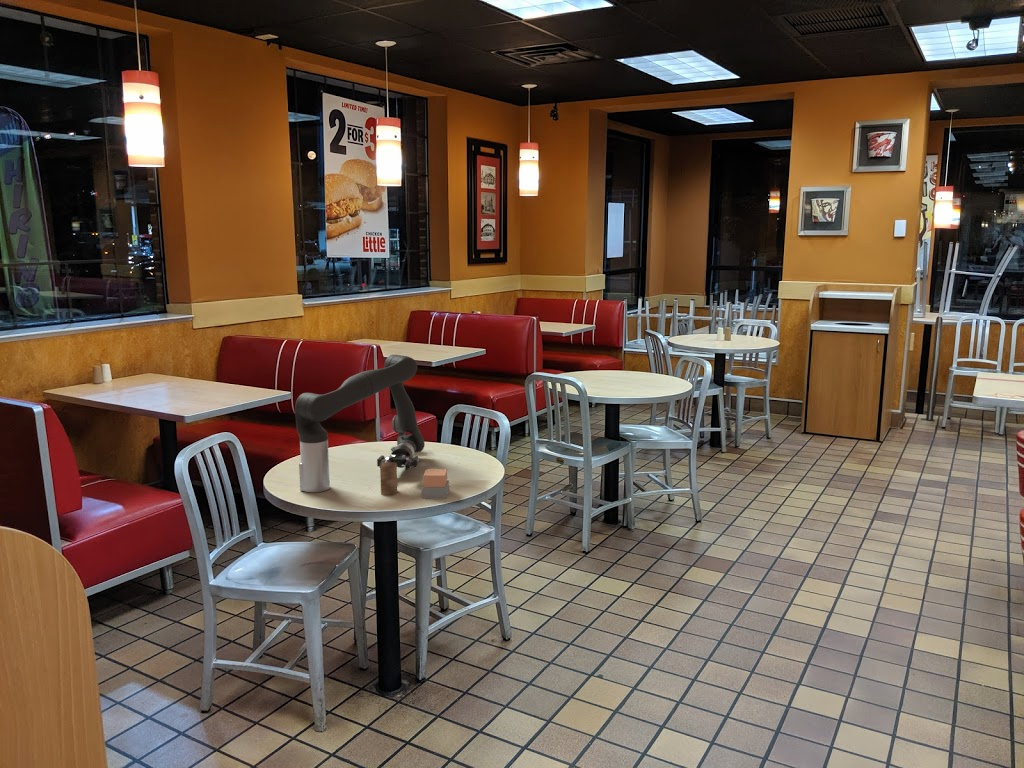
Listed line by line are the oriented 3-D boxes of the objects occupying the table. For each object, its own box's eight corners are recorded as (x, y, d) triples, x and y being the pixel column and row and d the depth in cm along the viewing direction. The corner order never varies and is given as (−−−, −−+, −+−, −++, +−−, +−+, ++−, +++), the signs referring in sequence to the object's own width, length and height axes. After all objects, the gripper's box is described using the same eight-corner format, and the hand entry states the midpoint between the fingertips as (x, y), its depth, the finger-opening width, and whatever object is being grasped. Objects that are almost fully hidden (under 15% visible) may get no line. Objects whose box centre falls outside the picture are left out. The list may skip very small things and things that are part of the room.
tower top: (423, 487, 255) (423, 475, 254) (426, 480, 262) (426, 469, 261) (444, 487, 255) (444, 475, 254) (447, 480, 262) (446, 469, 261)
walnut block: (381, 494, 259) (380, 466, 257) (383, 490, 263) (383, 462, 261) (394, 495, 258) (393, 466, 257) (397, 490, 263) (396, 462, 261)
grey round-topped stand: (394, 446, 320) (393, 411, 317) (416, 447, 318) (416, 412, 316) (387, 452, 312) (386, 416, 309) (410, 453, 310) (409, 417, 307)
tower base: (422, 498, 255) (421, 487, 255) (425, 491, 263) (425, 480, 262) (446, 499, 255) (446, 487, 254) (449, 491, 263) (448, 480, 262)
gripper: (383, 444, 285) (373, 456, 269) (421, 445, 284) (414, 456, 268) (384, 464, 286) (374, 477, 270) (422, 464, 285) (414, 477, 269)
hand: (394, 467), depth 269 cm, fingers open, 8 cm apart
